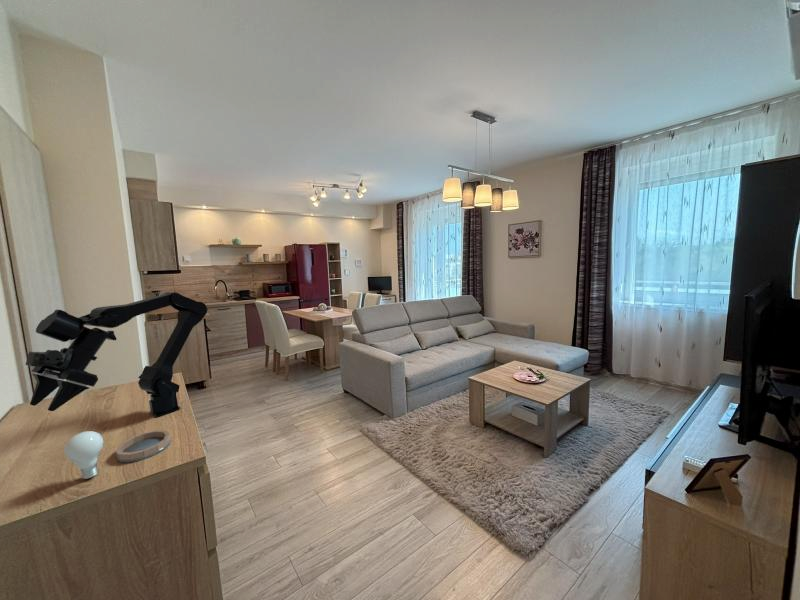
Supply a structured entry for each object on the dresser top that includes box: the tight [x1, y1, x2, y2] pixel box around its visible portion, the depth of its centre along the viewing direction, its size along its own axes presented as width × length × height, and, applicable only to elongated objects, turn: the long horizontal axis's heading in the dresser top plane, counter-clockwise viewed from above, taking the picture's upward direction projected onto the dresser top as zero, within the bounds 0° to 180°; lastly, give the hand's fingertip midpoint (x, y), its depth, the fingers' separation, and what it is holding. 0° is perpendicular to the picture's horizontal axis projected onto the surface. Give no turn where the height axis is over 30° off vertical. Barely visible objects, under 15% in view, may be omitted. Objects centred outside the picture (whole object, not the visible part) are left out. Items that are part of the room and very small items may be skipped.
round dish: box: [115, 429, 172, 464], centre depth 84 cm, size 11×11×2 cm
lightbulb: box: [63, 430, 104, 480], centre depth 73 cm, size 6×6×11 cm
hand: (41, 407), depth 79 cm, fingers open, 9 cm apart
